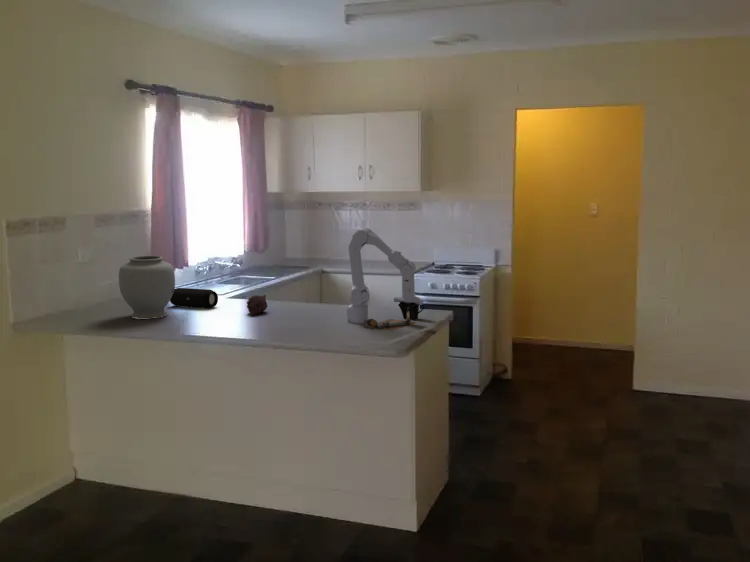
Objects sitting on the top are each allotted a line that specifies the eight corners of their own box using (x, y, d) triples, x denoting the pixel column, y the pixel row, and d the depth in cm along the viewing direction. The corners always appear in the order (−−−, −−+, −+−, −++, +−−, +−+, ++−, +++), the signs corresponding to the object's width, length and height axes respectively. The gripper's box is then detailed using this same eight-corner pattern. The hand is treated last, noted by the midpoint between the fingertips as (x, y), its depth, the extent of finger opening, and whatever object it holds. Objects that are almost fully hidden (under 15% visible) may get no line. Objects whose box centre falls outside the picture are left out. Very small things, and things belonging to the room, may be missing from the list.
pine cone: (264, 316, 367) (251, 300, 364) (249, 325, 370) (237, 309, 368) (275, 300, 382) (263, 285, 380) (260, 309, 386) (249, 294, 384)
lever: (375, 327, 330) (375, 314, 329) (409, 322, 338) (409, 310, 337) (378, 328, 327) (378, 315, 326) (413, 323, 335) (413, 311, 334)
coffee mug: (399, 318, 356) (398, 297, 354) (415, 316, 359) (415, 296, 357) (408, 322, 345) (408, 301, 343) (425, 321, 348) (425, 299, 346)
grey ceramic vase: (184, 311, 385) (181, 253, 380) (165, 321, 359) (161, 260, 354) (135, 311, 388) (130, 254, 383) (112, 321, 361) (107, 260, 357)
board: (364, 329, 332) (363, 320, 331) (390, 321, 348) (390, 312, 348) (396, 334, 322) (396, 324, 321) (421, 325, 338) (421, 316, 338)
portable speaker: (168, 307, 397) (167, 289, 396) (180, 304, 406) (179, 286, 404) (208, 310, 387) (207, 291, 385) (219, 307, 396) (218, 288, 394)
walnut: (368, 327, 331) (368, 320, 331) (373, 326, 334) (372, 319, 333) (374, 328, 329) (374, 321, 329) (378, 326, 332) (378, 319, 331)
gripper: (426, 289, 333) (427, 318, 335) (399, 286, 341) (400, 315, 343) (418, 291, 327) (418, 321, 329) (391, 288, 335) (391, 318, 337)
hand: (408, 318), depth 336 cm, fingers open, 3 cm apart
